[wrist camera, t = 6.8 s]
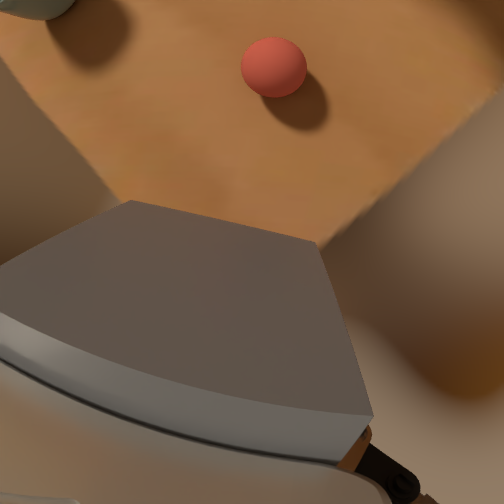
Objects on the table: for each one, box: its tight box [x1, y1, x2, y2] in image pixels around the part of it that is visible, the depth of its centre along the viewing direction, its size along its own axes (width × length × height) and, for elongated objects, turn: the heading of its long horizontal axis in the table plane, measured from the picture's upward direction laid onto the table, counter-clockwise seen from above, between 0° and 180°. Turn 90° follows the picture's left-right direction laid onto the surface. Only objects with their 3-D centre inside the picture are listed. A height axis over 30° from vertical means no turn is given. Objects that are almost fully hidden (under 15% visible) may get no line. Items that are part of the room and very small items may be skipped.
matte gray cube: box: [0, 200, 374, 466], centre depth 10 cm, size 8×8×9 cm
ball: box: [241, 37, 307, 98], centre depth 21 cm, size 5×5×5 cm
